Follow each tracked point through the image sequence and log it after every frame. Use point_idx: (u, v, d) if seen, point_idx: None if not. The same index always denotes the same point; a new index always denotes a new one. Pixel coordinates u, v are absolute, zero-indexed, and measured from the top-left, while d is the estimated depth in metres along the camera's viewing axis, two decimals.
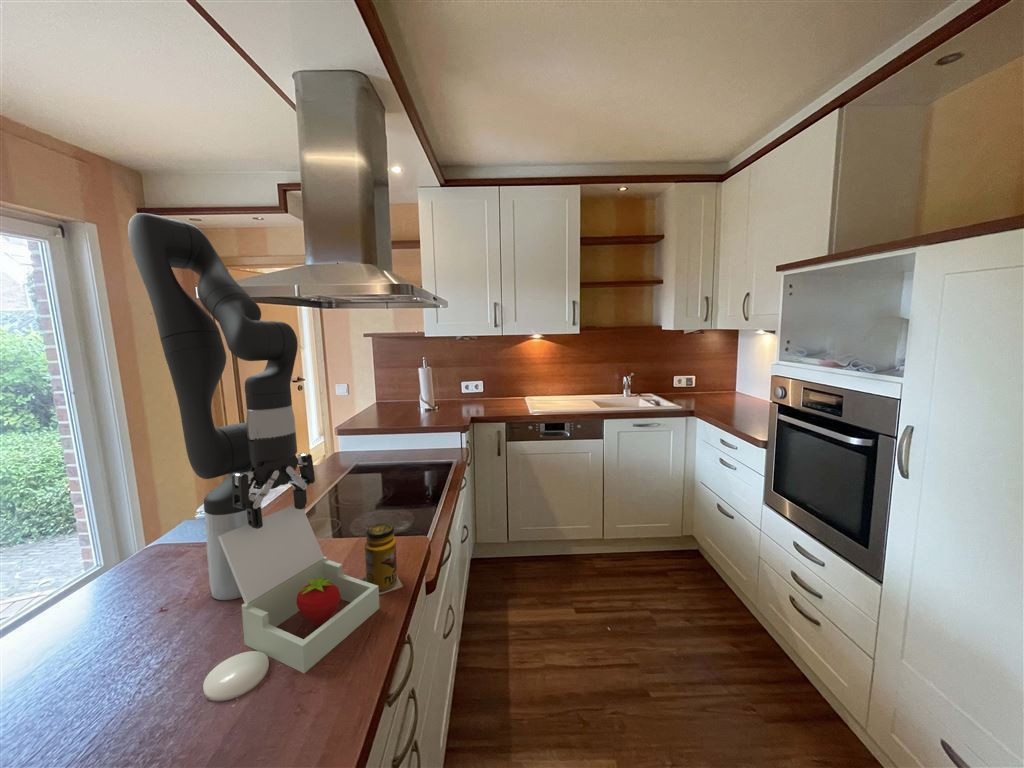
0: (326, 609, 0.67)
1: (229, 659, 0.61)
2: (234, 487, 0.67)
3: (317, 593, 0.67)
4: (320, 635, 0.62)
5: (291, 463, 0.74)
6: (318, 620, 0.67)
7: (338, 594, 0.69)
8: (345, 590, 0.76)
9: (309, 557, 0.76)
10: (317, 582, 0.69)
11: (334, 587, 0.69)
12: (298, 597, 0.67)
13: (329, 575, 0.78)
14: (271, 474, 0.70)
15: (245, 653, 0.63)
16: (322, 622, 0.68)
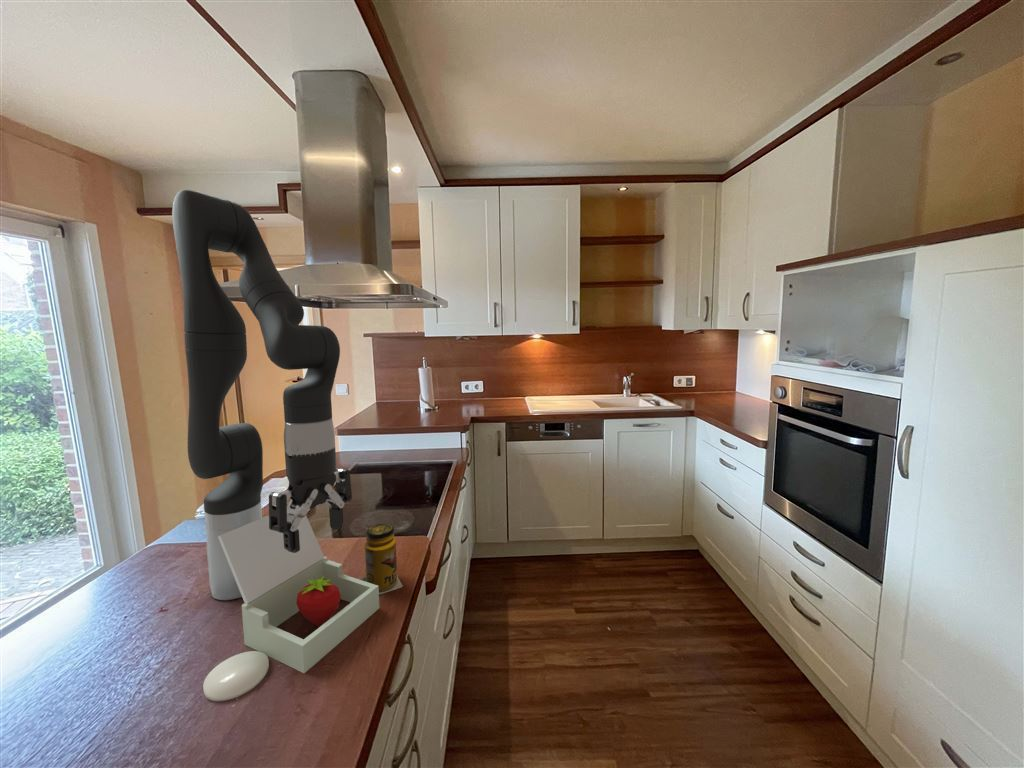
0: (326, 609, 0.67)
1: (229, 659, 0.61)
2: (271, 508, 0.61)
3: (317, 593, 0.67)
4: (320, 635, 0.62)
5: (329, 480, 0.68)
6: (318, 620, 0.67)
7: (338, 594, 0.69)
8: (345, 590, 0.76)
9: (309, 557, 0.76)
10: (317, 582, 0.69)
11: (334, 587, 0.69)
12: (298, 597, 0.67)
13: (329, 575, 0.78)
14: (310, 493, 0.64)
15: (245, 653, 0.63)
16: (322, 622, 0.68)
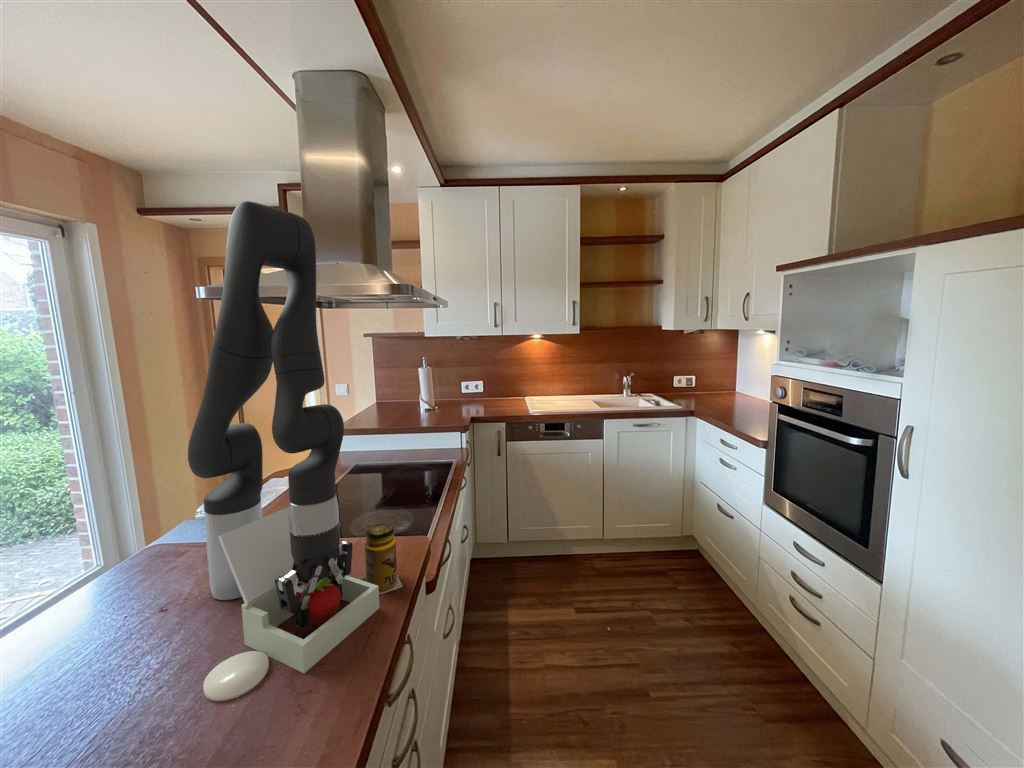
0: (326, 609, 0.67)
1: (229, 659, 0.61)
2: (279, 592, 0.63)
3: (317, 593, 0.67)
4: (320, 635, 0.62)
5: (333, 553, 0.70)
6: (318, 620, 0.67)
7: (338, 594, 0.69)
8: (345, 590, 0.76)
9: None
10: None
11: (334, 587, 0.69)
12: None
13: None
14: (314, 571, 0.66)
15: (245, 653, 0.63)
16: (322, 622, 0.68)
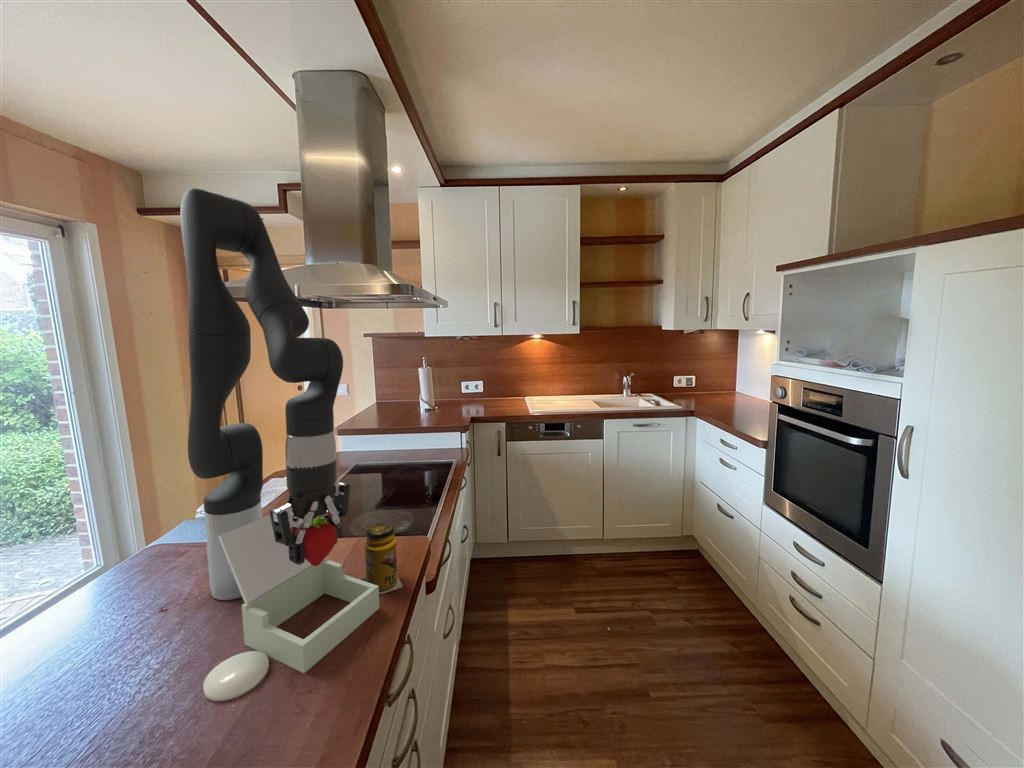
0: (322, 546, 0.65)
1: (229, 659, 0.61)
2: (274, 524, 0.61)
3: (313, 530, 0.66)
4: (320, 635, 0.62)
5: (329, 491, 0.69)
6: (314, 558, 0.66)
7: (334, 533, 0.68)
8: (345, 590, 0.76)
9: None
10: (313, 520, 0.68)
11: (330, 526, 0.68)
12: None
13: (329, 575, 0.78)
14: (310, 506, 0.64)
15: (245, 653, 0.63)
16: (317, 560, 0.67)
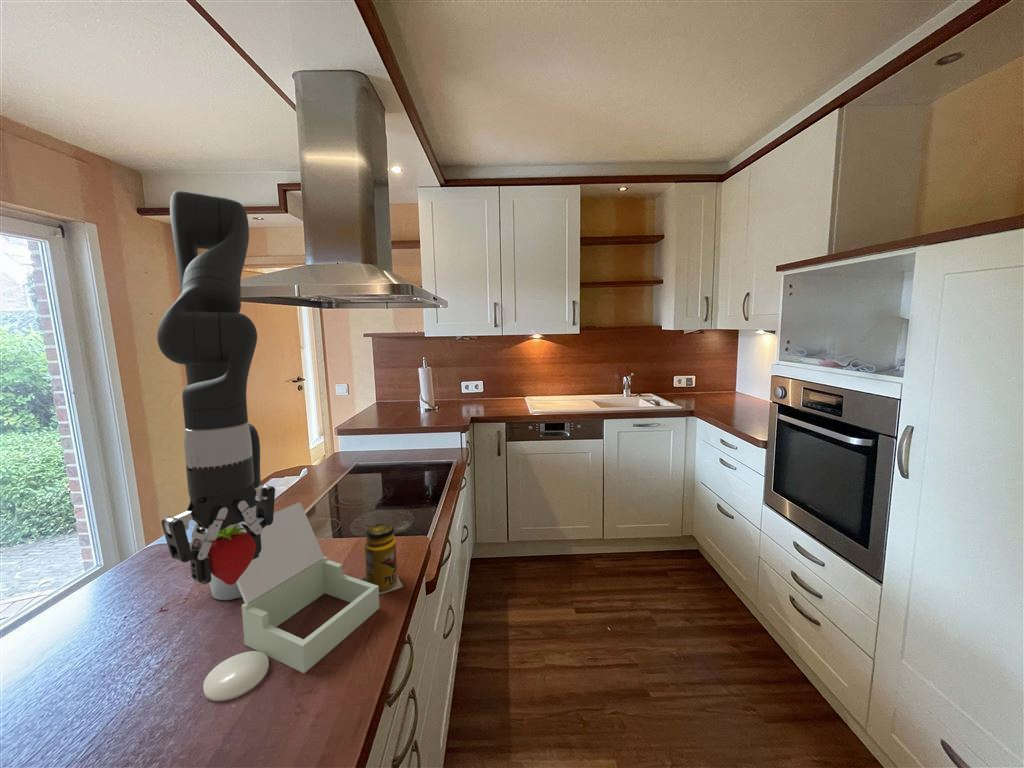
0: (233, 561, 0.55)
1: (229, 659, 0.61)
2: (167, 536, 0.51)
3: (223, 542, 0.55)
4: (320, 635, 0.62)
5: (246, 496, 0.58)
6: (225, 575, 0.55)
7: (251, 545, 0.57)
8: (345, 590, 0.76)
9: (309, 557, 0.76)
10: (227, 530, 0.57)
11: (247, 537, 0.57)
12: None
13: (329, 575, 0.78)
14: (216, 514, 0.54)
15: (245, 653, 0.63)
16: (231, 578, 0.56)
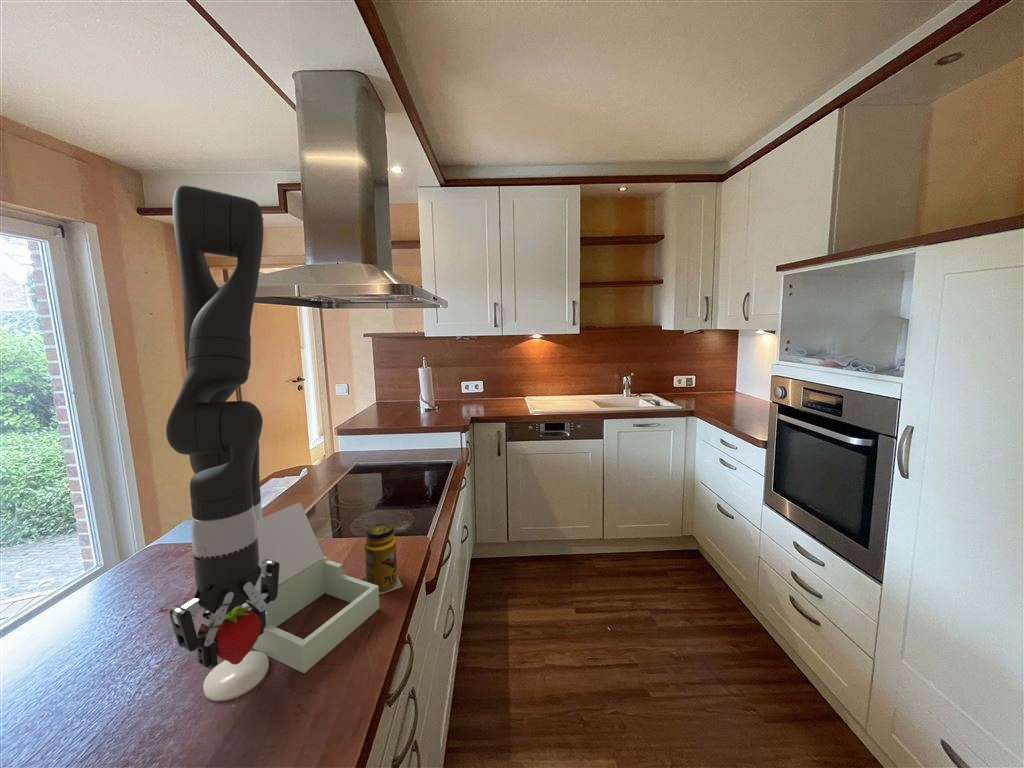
0: (239, 644, 0.56)
1: None
2: (175, 626, 0.52)
3: (229, 625, 0.56)
4: (320, 635, 0.62)
5: (251, 576, 0.59)
6: (231, 657, 0.56)
7: (257, 625, 0.58)
8: (345, 590, 0.76)
9: (309, 557, 0.76)
10: (232, 611, 0.58)
11: (253, 617, 0.58)
12: None
13: (329, 575, 0.78)
14: (222, 599, 0.55)
15: None
16: (236, 659, 0.57)
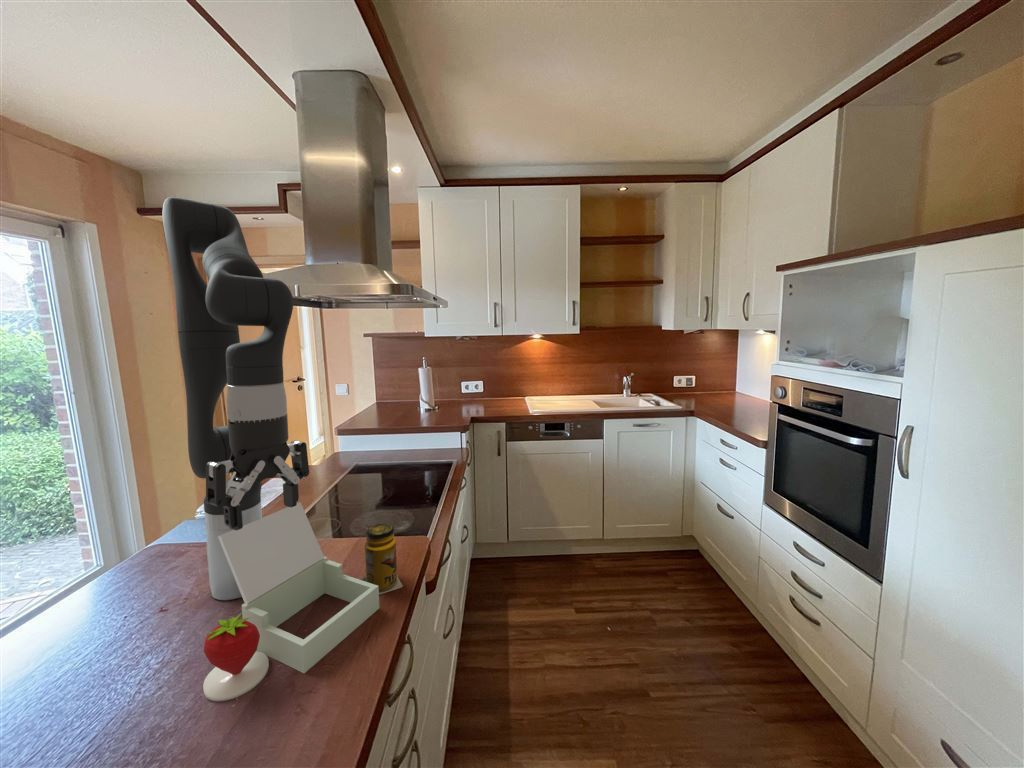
0: (238, 656, 0.56)
1: None
2: (208, 479, 0.54)
3: (227, 638, 0.56)
4: (320, 635, 0.62)
5: (281, 452, 0.62)
6: (230, 669, 0.56)
7: (255, 636, 0.58)
8: (345, 590, 0.76)
9: (309, 557, 0.76)
10: (230, 622, 0.58)
11: (251, 628, 0.58)
12: (205, 642, 0.56)
13: (329, 575, 0.78)
14: (255, 465, 0.58)
15: None
16: (236, 670, 0.57)
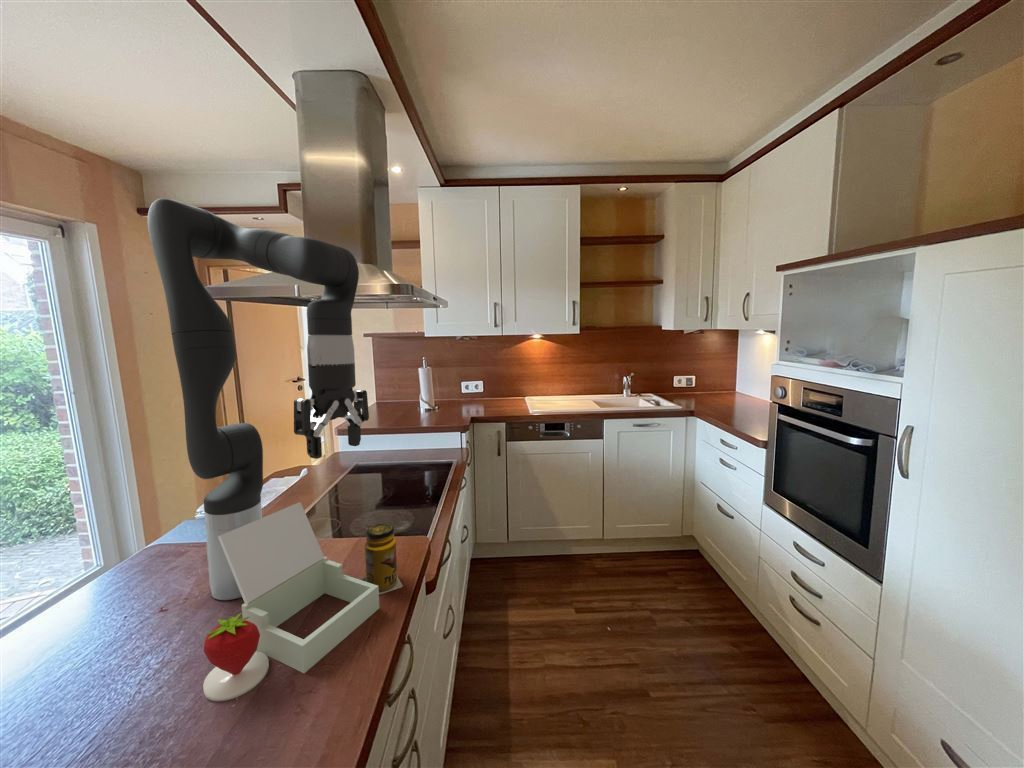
0: (239, 655, 0.56)
1: None
2: (296, 413, 0.64)
3: (228, 637, 0.56)
4: (320, 635, 0.62)
5: (348, 396, 0.72)
6: (231, 668, 0.56)
7: (256, 635, 0.58)
8: (345, 590, 0.76)
9: (309, 557, 0.76)
10: (230, 622, 0.58)
11: (251, 627, 0.58)
12: (205, 642, 0.56)
13: (329, 575, 0.78)
14: (331, 403, 0.68)
15: None
16: (236, 669, 0.57)
